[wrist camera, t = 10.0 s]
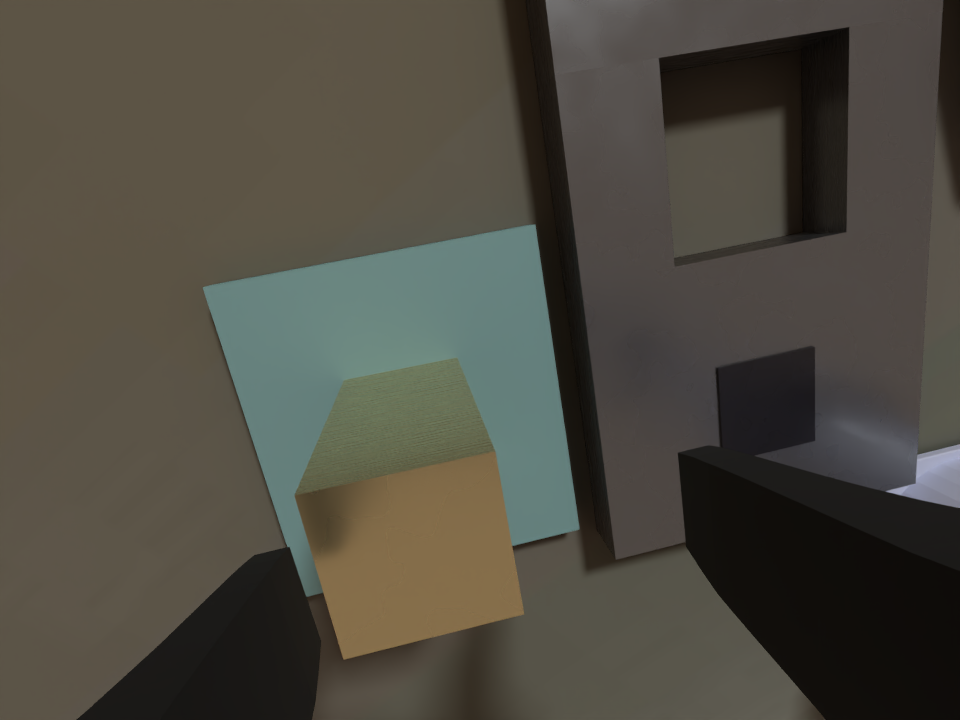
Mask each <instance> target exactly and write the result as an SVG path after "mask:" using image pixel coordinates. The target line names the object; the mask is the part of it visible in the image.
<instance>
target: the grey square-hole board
mask: <svg viewBox="0 0 960 720" xmlns="http://www.w3.org/2000/svg"><path fill="white" fill-rule="evenodd" d="M526 6H527V14H528V21H529V28H530V36H531V43H532V51H533V58H534V65H535V73H536V80H537V88H538V95H539V103H540V110H541V117H542V125H543V132H544V140H545V147H546V154H547V162H548V169H549V177H550V184H551V192H552V199H553V206H554V214H555V221H556V229H557V236H558V243H559V251H560V258H561V266H562V273H563V281H564V288H565V295H566V303H567V310H568V318H569V325H570V332H571V340H572V347H573V355H574V362H575V370H576V377H577V384H578V392H579V399H580V407H581V414H582V422H583V429H584V436H585V444H586V451H587V459H588V466H589V473H590V481H591V488H592V496H593V503H594V511H595V518H596V525H597V531H598V533H599V534H600V536H601V537H602V539H603V541H604V542H605V544H606V545H607V547H608V548H609V550H610V551H611V553H612V555H613V556H614V558H615V559H616V560H617V559H621V558H625V557H629V556H633V555H637V554H641V553H645V552H649V551H652V550H656V549H660V548H664V547H668V546H672V545H676V544H680V543H684V542H686V540H685V529H684V518H683V507H682V496H681V484H680V473H679V462H678V452H682V451H686V450H690V449H694V448H699V447H703V446H707V445H711V446H716V447H721V448H726V449H730V450H734V451H738V452H742V453H746V454H749V455H753V456H756V457H760V458H764V459H767V460H771V461H774V462H778V463H781V464H785V465H788V466H792V467H795V468H799V469H802V470H806V471H809V472H813V473H816V474H820V475H823V476H827V477H831V478H834V479H838V480H842V481H846V482H849V483H853V484H857V485H861V486H865V487H869V488H873V489H877V490H881V491H888V490H892V489H896V488H900V487H904V486H908V485H912V484H916V469H917V451H918V434H919V416H920V399H921V381H922V363H923V346H924V328H925V311H926V293H927V276H928V258H929V241H930V223H931V205H932V188H933V170H934V153H935V135H936V118H937V100H938V83H939V65H940V47H941V30H942V12H943V0H526ZM800 49H802V121H803V232H802V233H798V234H793V235H788V236H783V237H778V238H773V239H768V240H763V241H758V242H753V243H748V244H743V245H738V246H733V247H728V248H723V249H718V250H713V251H708V252H703V253H698V254H693V255H688V256H683V257H678V258H674V252H673V239H672V226H671V212H670V199H669V186H668V173H667V160H666V146H665V133H664V120H663V107H662V94H661V80H660V72H666V71H672V70H679V69H685V68H691V67H697V66H703V65H709V64H715V63H721V62H727V61H733V60H739V59H745V58H751V57H757V56H763V55H769V54H775V53H781V52H787V51H793V50H800Z"/></svg>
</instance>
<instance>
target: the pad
mask: <svg viewBox="0 0 960 720" xmlns="http://www.w3.org/2000/svg"><path fill="white" fill-rule="evenodd" d="M203 290H204V293H205V296H206V299H207V302H208V305H209V308H210V311H211V314H212V317H213V321H214V324H215V327H216V330H217V333H218V336H219V339H220V342H221V345H222V348H223V351H224V354H225V357H226V360H227V363H228V367H229V370H230V373H231V376H232V379H233V382H234V385H235V388H236V391H237V394H238V397H239V400H240V403H241V406H242V409H243V413H244V416H245V419H246V422H247V425H248V428H249V431H250V434H251V437H252V440H253V443H254V446H255V449H256V452H257V455H258V458H259V462H260V465H261V468H262V471H263V474H264V477H265V480H266V483H267V486H268V489H269V492H270V495H271V498H272V501H273V504H274V508H275V511H276V514H277V517H278V520H279V523H280V526H281V529H282V532H283V535H284V538H285V541H286V544H287V547H290V550H291V553H292V556H293V559H294V562H295V565H296V568H297V571H298V574H299V577H300V580H301V583H302V586H303V589H304V592H305V595H306V597H308V596H312V595H316V594H320V593H323V590H322V586H321V583H320V580H319V576H318V573H317V570H316V566H315V563H314V560H313V556H312V553H311V550H310V546H309V543H308V540H307V536H306V533H305V530H304V526H303V523H302V520H301V516H300V513H299V510H298V506H297V503H296V500H295V496H294V495H295V493H296V490H297V488H298V486H299V483H300V481H301V479H302V476H303V474H304V472H305V469H306V467H307V465H308V462H309V460H310V458H311V455H312V453H313V451H314V448H315V446H316V444H317V441H318V439H319V437H320V435H321V432H322V430H323V428H324V425H325V423H326V421H327V418H328V416H329V414H330V411H331V409H332V407H333V404H334V402H335V400H336V397H337V395H338V393H339V390H340V388H341V386H342V383H343V381H344V380H347V379H352V378H357V377H362V376H367V375H372V374H377V373H382V372H387V371H392V370H397V369H402V368H407V367H412V366H417V365H422V364H427V363H432V362H437V361H442V360H447V359H452V358H458V360H459V363H460V365H461V368H462V370H463V373H464V375H465V378H466V380H467V383H468V385H469V387H470V390H471V392H472V395H473V397H474V400H475V402H476V405H477V407H478V410H479V412H480V415H481V417H482V419H483V422H484V424H485V427H486V429H487V432H488V434H489V437H490V439H491V442H492V444H493V447H494V449H495V452H496V457H497V463H498V469H499V474H500V480H501V486H502V491H503V497H504V503H505V508H506V514H507V520H508V525H509V531H510V537H511V542H512V546H514V545H518V544H522V543H526V542H530V541H534V540H538V539H543V538H547V537H551V536H555V535H559V534H563V533H567V532H571V531H575V530H579V522H578V515H577V508H576V501H575V494H574V487H573V481H572V474H571V467H570V460H569V453H568V446H567V439H566V432H565V425H564V419H563V412H562V405H561V398H560V391H559V384H558V377H557V370H556V364H555V357H554V350H553V343H552V336H551V329H550V322H549V315H548V309H547V302H546V295H545V288H544V281H543V274H542V267H541V260H540V254H539V247H538V240H537V233H536V226H535V225H525V226H520V227H515V228H510V229H504V230H499V231H494V232H488V233H483V234H478V235H473V236H467V237H462V238H457V239H452V240H446V241H441V242H436V243H430V244H425V245H420V246H415V247H409V248H404V249H399V250H393V251H388V252H383V253H378V254H372V255H367V256H362V257H356V258H351V259H346V260H341V261H335V262H330V263H325V264H319V265H314V266H309V267H304V268H298V269H293V270H288V271H282V272H277V273H272V274H267V275H261V276H256V277H251V278H245V279H240V280H235V281H230V282H224V283H219V284H214V285H210V286H206V287H203Z"/></svg>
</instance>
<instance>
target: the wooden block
mask: <svg viewBox="0 0 960 720" xmlns="http://www.w3.org/2000/svg"><path fill="white" fill-rule="evenodd" d="M294 496H295V500H296V503H297V506H298V510H299V513H300V516H301V520H302V523H303V526H304V530H305V533H306V536H307V540H308V543H309V546H310V550H311V553H312V556H313V560H314V563H315V566H316V570H317V573H318V576H319V580H320V583H321V586H322V590H323V593H324V596H325V600H326V603H327V606H328V610H329V613H330V616H331V620H332V623H333V626H334V630H335V633H336V636H337V640H338V643H339V646H340V650H341V653H342V656H343V660H344V659H348V658H352V657H356V656H360V655H364V654H368V653H372V652H376V651H380V650H384V649H388V648H392V647H396V646H400V645H404V644H408V643H412V642H416V641H420V640H424V639H428V638H432V637H436V636H440V635H444V634H448V633H452V632H456V631H460V630H464V629H468V628H472V627H475V626H479V625H483V624H487V623H491V622H495V621H499V620H503V619H507V618H511V617H515V616H519V615H523V614H524V610H523V605H522V599H521V593H520V588H519V582H518V576H517V571H516V565H515V559H514V554H513V548H512V542H511V537H510V531H509V525H508V520H507V514H506V508H505V503H504V497H503V491H502V486H501V480H500V474H499V469H498V463H497V457H496V452H495V449H494V447H493V444H492V442H491V439H490V437H489V434H488V432H487V429H486V427H485V424H484V422H483V419H482V417H481V415H480V412H479V410H478V407H477V405H476V402H475V400H474V397H473V395H472V392H471V390H470V387H469V385H468V383H467V380H466V378H465V375H464V373H463V370H462V368H461V365H460V363H459V360H458V358H452V359H447V360H442V361H437V362H432V363H427V364H422V365H417V366H412V367H407V368H402V369H397V370H392V371H387V372H382V373H377V374H372V375H367V376H362V377H357V378H352V379H347V380H344V381H343V383H342V386H341V388H340V390H339V393H338V395H337V397H336V400H335V402H334V404H333V407H332V409H331V411H330V414H329V416H328V418H327V421H326V423H325V425H324V428H323V430H322V432H321V435H320V437H319V439H318V441H317V444H316V446H315V448H314V451H313V453H312V455H311V458H310V460H309V462H308V465H307V467H306V469H305V472H304V474H303V476H302V479H301V481H300V483H299V486H298V488H297V490H296V493H295V495H294Z"/></svg>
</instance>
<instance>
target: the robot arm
mask: <svg viewBox="0 0 960 720" xmlns="http://www.w3.org/2000/svg"><path fill="white" fill-rule="evenodd" d="M678 462H679V473H680V484H681V496H682V507H683V518H684V529H685V540H686V547H687V549H688V550H689V552H690V553H691V555H692V556H693V558H694V559H695V561H696V562H697V564H698V566H699V567H700V569H701V570H702V572H703V573H704V575H705V576H706V578H707V579H708V581H709V582H710V583H711V585H712V586H713V588H714V589H715V591H716V592H717V594H718V595H719V596H720V597H721V598H722V600H723V601H724V602H725V603H726V604H727V606H728V607H729V608H730V609H731V610H732V611H733V613H734V614H735V615H736V616H737V617H738V618H739V620H740V621H741V622H742V623H743V624H744V625H745V627H746V628H747V629H748V630H749V631H750V632H751V634H752V635H753V636H754V637H755V638H756V639H757V641H758V642H759V643H760V644H761V645H762V646H763V647H764V649H765V650H766V651H767V652H768V653H769V654H770V655H771V657H772V658H773V659H774V660H775V661H776V662H777V664H778V665H779V666H780V667H781V668H782V669H783V670H784V672H785V673H786V674H787V675H788V676H789V677H790V678H791V680H792V681H793V682H794V683H795V684H796V685H797V686H798V688H799V689H800V690H801V691H802V692H803V693H804V695H805V696H806V697H807V698H808V699H809V700H810V701H811V703H812V704H813V705H814V706H815V707H816V708H817V709H818V711H819V712H820V713H821V714H822V716H823V717H824V718H825V719H826V720H960V444H959V445H955V446H951V447H947V448H943V449H939V450H935V451H931V452H927V453H923V454H919V455H917V469H916V484H912V485H908V486H904V487H900V488H896V489H892V490H888V491H881V490H877V489H873V488H869V487H865V486H861V485H857V484H853V483H849V482H846V481H842V480H838V479H834V478H831V477H827V476H823V475H820V474H816V473H813V472H809V471H806V470H802V469H799V468H795V467H792V466H788V465H785V464H781V463H778V462H774V461H771V460H767V459H764V458H760V457H756V456H753V455H749V454H746V453H742V452H738V451H734V450H730V449H726V448H721V447H716V446H711V445H707V446H703V447H699V448H694V449H690V450H686V451H682V452H678ZM320 647H321V640H320V637H319V634H318V631H317V628H316V625H315V622H314V619H313V616H312V613H311V610H310V607H309V604H308V601H307V598H306V595H305V592H304V589H303V586H302V583H301V580H300V577H299V574H298V571H297V568H296V565H295V562H294V559H293V556H292V553H291V550H290V547H286V548H282V549H278V550H274V551H270V552H266V553H262V554H257V555H254V556H253V557H252V558H250V559H249V560H248V561H247V562H245V563H244V564H243V565H242V566H241V567H240V568H239V569H238V570H237V571H235V572H234V573H233V574H232V575H231V576H230V577H229V578H228V579H227V580H226V581H225V582H224V583H223V584H222V585H221V586H220V587H219V588H218V589H217V590H216V591H214V592H213V593H212V594H211V595H210V596H209V597H208V598H207V599H206V600H205V601H204V602H203V603H202V604H201V605H200V606H199V607H198V608H197V609H196V610H195V611H194V612H193V613H192V614H191V615H190V616H189V617H188V618H187V619H186V620H185V621H184V622H183V623H181V624H180V625H179V626H178V627H177V628H176V629H175V630H174V631H173V632H172V633H171V634H170V635H169V636H168V637H167V638H166V639H165V640H164V641H163V642H162V643H161V644H160V645H159V646H158V647H157V648H155V649H154V650H153V651H152V652H151V653H150V654H149V655H148V656H147V657H146V658H145V659H143V660H142V661H141V662H140V663H139V664H138V665H137V666H136V667H135V668H134V669H132V670H131V671H130V672H129V673H128V674H127V675H126V676H125V677H124V678H123V679H121V680H120V681H119V682H118V683H117V684H116V685H115V686H114V687H113V688H112V689H110V690H109V691H108V692H107V693H106V694H105V695H104V696H103V697H102V698H101V699H99V700H98V701H97V702H96V703H95V704H94V705H93V706H92V707H91V708H90V709H88V710H87V711H86V712H85V713H84V714H83V715H81V716H80V717H79V718H78V719H77V720H312V716H313V711H314V706H315V699H316V690H317V681H318V671H319V659H320Z"/></svg>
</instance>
